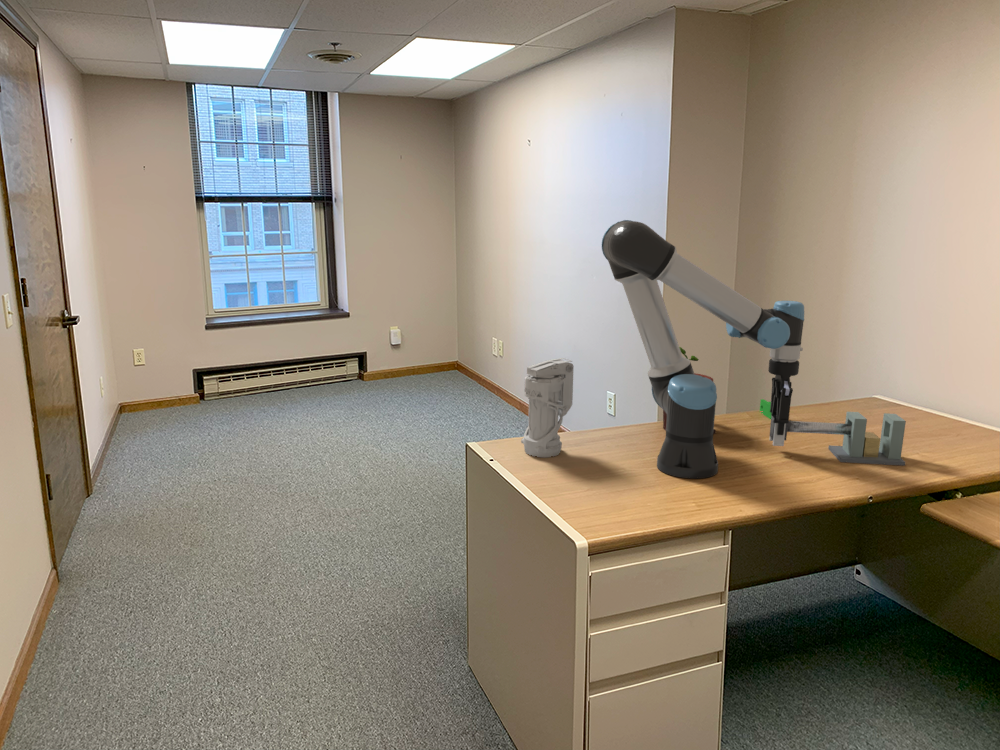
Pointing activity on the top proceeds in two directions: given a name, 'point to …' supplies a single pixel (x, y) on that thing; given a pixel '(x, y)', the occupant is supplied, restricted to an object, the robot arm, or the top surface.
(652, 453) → the top surface
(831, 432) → the shaft
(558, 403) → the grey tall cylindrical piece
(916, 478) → the top surface
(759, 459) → the top surface
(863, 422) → the bearing stand
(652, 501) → the top surface
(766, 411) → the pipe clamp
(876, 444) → the spacer
